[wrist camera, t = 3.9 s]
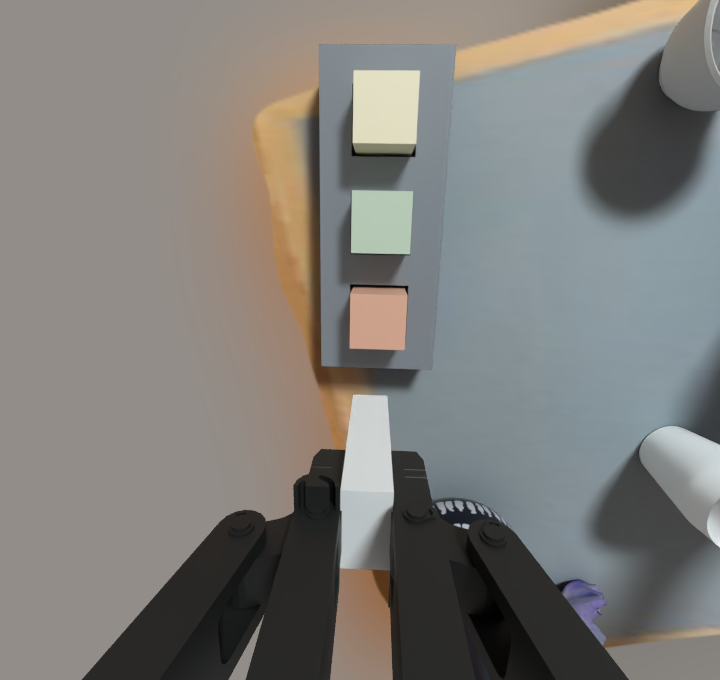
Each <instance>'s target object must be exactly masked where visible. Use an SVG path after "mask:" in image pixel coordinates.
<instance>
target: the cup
mask: <svg viewBox="0 0 720 680" xmlns="http://www.w3.org/2000/svg"><path fill="white" fill-rule="evenodd" d="M639 457H640V461H641V463H642V464H643V466H644V467H645V468H646V469H647V471H648V472H649V473H650V474H651V476H652V477H653V478H654V479H655V480H656V482H657V483H658V484H659V485H660V487H661V488H662V489H663V490H664V492H665V493H666V494H667V495H668V497H669V498H670V499H671V500H672V502H673V503H674V504H675V505H676V507H677V508H678V509H679V510H680V511H681V513H682V514H683V515H684V516H685V518H686V519H687V520H688V521H689V522H690V523H691V524H692V525H693V526H694V527H696V528H697V529H698V530H700V531H701V532H702V533H703V534H704V535H706V536H707V537H708V538H709V539H710V540H711V541H713V542H714V543H715V544H716V545H717V546H719V547H720V445H719V444H717V443H715V442H713V441H710V440H708V439H706V438H704V437H702V436H699V435H697V434H695V433H693V432H690V431H688V430H686V429H684V428H681V427H677V426H667V427H663V428H660V429H657V430H655V431H654V432H652V433H651V434H649V435H648V436H647V437H646V438H645V439H644V441H643V442H642V444H641V446H640V450H639Z"/></svg>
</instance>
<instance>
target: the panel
mask: <svg viewBox="0 0 720 680" xmlns="http://www.w3.org/2000/svg"><path fill="white" fill-rule="evenodd" d="M455 56H456V45H454V44H453V45H451V44H448V45H447V44H445V45H444V44H435V45H432V44H427V45H426V44H423V45H422V44H409V45H408V44H407V45H405V44H395V45H394V44H380V45H379V44H377V45H376V44H372V45H371V44H319V136H320V259H321V366H332V367H362V368H391V369H420V370H432V364H433V351H434V337H435V324H436V310H437V297H438V284H439V270H440V257H441V243H442V230H443V217H444V203H445V190H446V176H447V163H448V150H449V136H450V123H451V109H452V96H453V83H454V69H455ZM354 70H414V71H420V82H419V101H418V119H417V138H416V145H415V148H414V150H413V152H412V157H361V156H355V149H354V146H353V77H354ZM352 190H368V191H413V208H412V227H411V245H410V254H373V253H351V213H352ZM353 284H361V285H400V286H405V291H406V293H407V295H408V297H407V316H406V335H405V350H381V349H350V293H351V291H352V289H353Z"/></svg>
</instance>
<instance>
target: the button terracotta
mask: <svg viewBox="0 0 720 680" xmlns="http://www.w3.org/2000/svg"><path fill="white" fill-rule="evenodd" d="M407 297H408V295H407V293H406V291H405V288H404V286H395V285H357V284H354V287H353V289H352V291H351V293H350V349H381V350H405V335H406V316H407Z"/></svg>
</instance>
